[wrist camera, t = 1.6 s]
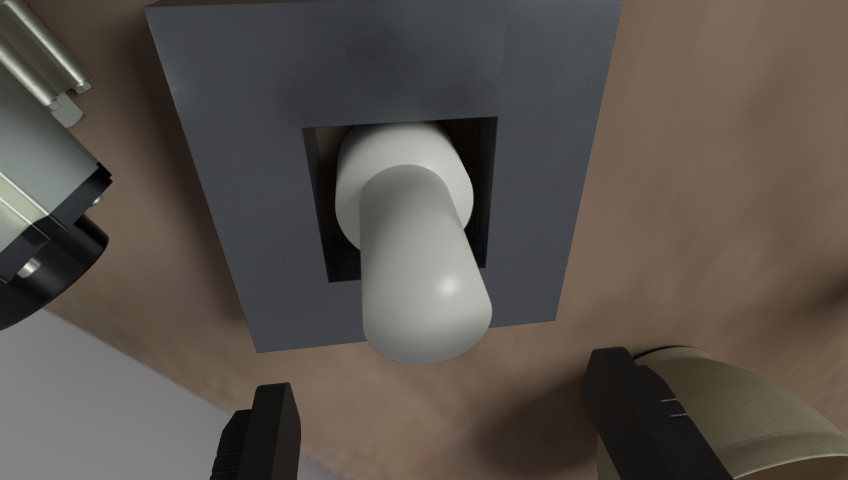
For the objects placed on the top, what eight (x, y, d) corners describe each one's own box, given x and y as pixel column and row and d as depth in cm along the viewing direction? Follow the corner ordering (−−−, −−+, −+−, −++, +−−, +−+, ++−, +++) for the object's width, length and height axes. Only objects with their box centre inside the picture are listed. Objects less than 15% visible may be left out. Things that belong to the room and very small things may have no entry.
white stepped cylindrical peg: (329, 112, 21) (314, 251, 12) (457, 104, 21) (534, 232, 12) (344, 221, 24) (341, 394, 15) (454, 212, 25) (513, 373, 16)
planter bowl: (560, 458, 42) (617, 601, 33) (554, 343, 32) (631, 501, 23) (730, 416, 41) (834, 549, 33) (774, 289, 32) (935, 426, 23)
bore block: (181, -8, 17) (142, 7, 14) (577, -20, 19) (624, -8, 16) (268, 300, 27) (256, 352, 23) (531, 275, 28) (554, 320, 25)
